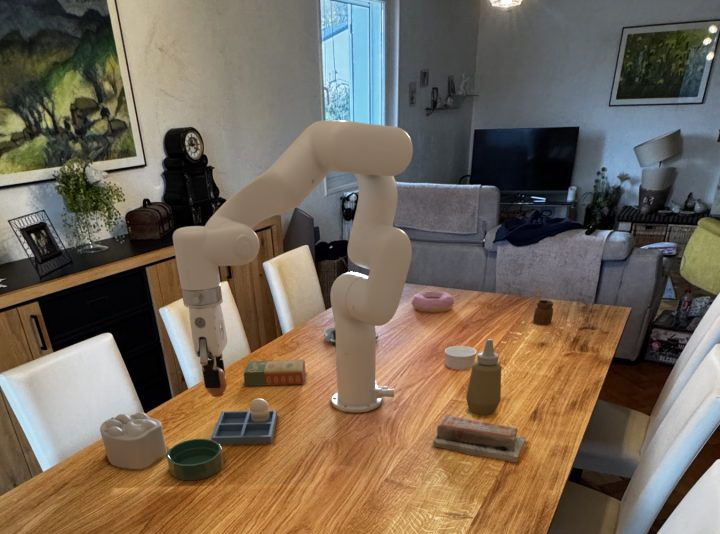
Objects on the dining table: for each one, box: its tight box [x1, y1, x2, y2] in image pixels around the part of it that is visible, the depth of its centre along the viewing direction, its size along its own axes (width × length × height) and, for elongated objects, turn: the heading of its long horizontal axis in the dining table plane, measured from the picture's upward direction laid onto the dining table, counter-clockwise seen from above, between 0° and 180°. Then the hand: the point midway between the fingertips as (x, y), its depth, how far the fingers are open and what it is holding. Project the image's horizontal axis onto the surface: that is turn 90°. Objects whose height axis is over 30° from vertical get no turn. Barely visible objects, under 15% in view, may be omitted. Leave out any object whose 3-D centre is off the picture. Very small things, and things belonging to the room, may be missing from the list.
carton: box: [243, 359, 306, 387], centre depth 157 cm, size 8×16×4 cm, turn 88°
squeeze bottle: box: [465, 338, 502, 417], centre depth 133 cm, size 8×8×18 cm
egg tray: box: [210, 409, 278, 445], centre depth 132 cm, size 13×13×2 cm
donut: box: [410, 290, 455, 314], centre depth 210 cm, size 16×15×5 cm
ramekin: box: [444, 345, 478, 371], centre depth 162 cm, size 9×9×4 cm
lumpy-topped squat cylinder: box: [99, 411, 168, 470], centre depth 122 cm, size 10×13×9 cm
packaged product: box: [432, 415, 526, 464], centre depth 123 cm, size 18×5×10 cm
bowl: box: [165, 438, 225, 481], centre depth 118 cm, size 11×11×4 cm
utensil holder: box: [532, 286, 557, 326], centre depth 190 cm, size 6×6×12 cm
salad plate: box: [323, 326, 379, 347], centre depth 185 cm, size 19×18×5 cm
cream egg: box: [249, 397, 270, 423], centre depth 134 cm, size 4×4×6 cm
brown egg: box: [205, 367, 227, 398], centre depth 120 cm, size 4×4×6 cm
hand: (215, 381), depth 120 cm, fingers closed on brown egg, 4 cm apart
